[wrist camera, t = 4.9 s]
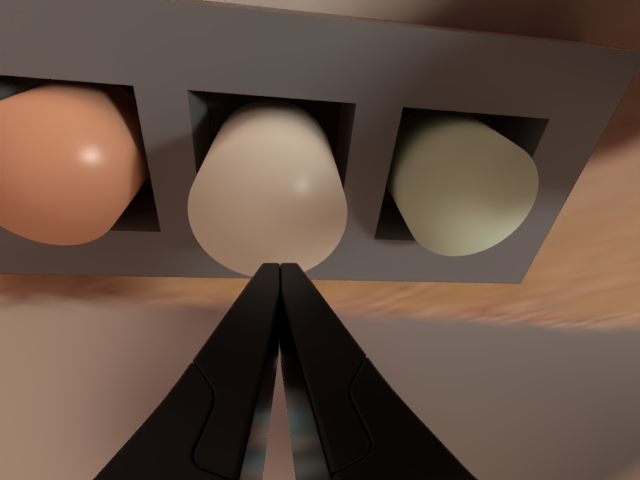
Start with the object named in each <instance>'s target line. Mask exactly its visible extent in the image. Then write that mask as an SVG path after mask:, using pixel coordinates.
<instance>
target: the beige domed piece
mask: <svg viewBox="0 0 640 480" xmlns="http://www.w3.org/2000/svg"><path fill="white" fill-rule="evenodd" d="M188 218H189V222H190V226H191V229H192V231H193V234H194V236H195V237H196V239H197V241H198V242H199V244H200V245H201V247H202V248H203V249H204V250H205V251H206V252H207V253H208V254H209V255H210V256H211V257H212V258H213V259H214V260H216V261H217V262H218V263H220V264H221V265H223V266H225V267H227V268H229V269H231V270H232V271H235V272H238V273H240V274H244V275H247V276H251V277H253V276H254V274H255V273H256V271H257V270H258V269H259V267H260V266H261V265H262V264H263V263H279V264H280V265H281V263H297V264H298V265H299V266H300V267H301V269H302V270H303V271H304V272H305V271H307V270H309V269H311V268H313V267H315V266H316V265H318V264H320V263H321V262H322V261H323V260H325V259H326V258H327V257H328V256H329V255H330V254H331V253H332V252H333V250H334V249H335V248H336V246H337V245H338V243H339V242H340V240H341V238H342V236H343V233H344V231H345V227H346V222H347V203H346V198H345V194H344V191H343V187H342V184H341V181H340V177H339V174H338V170H337V167H336V164H335V160H334V157H333V153H332V150H331V147H330V143H329V140H328V138H327V135H326V133H325V132H324V130H323V128H322V127H321V125H320V124H319V122H318V121H317V120H316V119H315V118H314V117H313V116H312V115H310V114H309V113H308V112H307V111H305V110H304V109H302V108H300V107H298V106H296V105H294V104H291V103H288V102H285V101H279V100H261V101H256V102H252V103H249V104H247V105H244V106H242V107H240V108H239V109H237V110H236V111H234V112H233V113H232V114H231V115H230V116H229V117H228V118H227V119H226V120H225V121H224V123H223V124H222V126H221V127H220V129H219V131H218V133H217V135H216V137H215V139H214V141H213V143H212V145H211V147H210V149H209V151H208V153H207V156H206V158H205V160H204V162H203V164H202V166H201V168H200V170H199V172H198V174H197V176H196V178H195V180H194V182H193V185H192V187H191V190H190V193H189V197H188Z"/></svg>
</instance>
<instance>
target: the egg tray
mask: <svg viewBox="0 0 640 480" xmlns="http://www.w3.org/2000/svg"><path fill="white" fill-rule="evenodd" d="M639 66H640V51H635V50H629V49H622V48H616V47H610V46H604V45H598V44H592V43H586V42H577V41H568V40H559V39H550V38H541V37H532V36H523V35H513V34H504V33H495V32H486V31H477V30H468V29H459V28H450V27H440V26H431V25H422V24H413V23H404V22H395V21H386V20H377V19H367V18H358V17H349V16H340V15H331V14H322V13H313V12H304V11H294V10H285V9H276V8H267V7H258V6H249V5H240V4H231V3H221V2H212V1H203V0H0V100H3V99H6V98H8V97H11V96H14V95H16V94H18V93H17V91H16V88H15V85H14V82H13V80H12V77H11V76H20V77H32V78H45V79H57V80H70V81H82V82H95V83H107V84H120V85H132V86H133V87H134V93H135V98H136V103H137V108H138V114H139V119H140V124H141V130H142V135H143V140H144V146H145V151H146V156H147V162H148V167H149V172H150V177H151V183H152V188H153V193H154V195H135V197H134V198H133V199H132V201H131V202H130V203H129V205H128V206H127V207H126V209H125V210H124V211H123V213H122V214H121V215H120V217H119V218H118V219H117V221H116V222H115V224H114V225H113V226H112V227H111V228H110V230H109V231H107V232H106V233H105V234H104V235H102V236H101V237H99V238H97V239H95V240H93V241H90V242H87V243H83V244H77V245H52V244H46V243H41V242H37V241H33V240H30V239H27V238H24V237H22V236H19V235H17V234H15V233H12V232H11V231H9V230H7V229H5V228H3V227H1V226H0V274H42V275H94V276H147V277H199V278H252V277H251V276H247V275H244V274H240V273H238V272H235V271H232V270H231V269H229V268H227V267H225V266H223V265H221V264H220V263H218V262H217V261H216V260H214V259H213V258H212V257H211V256H210V255H209V254H208V253H207V252H206V251H205V250H204V249H203V248H202V247H201V245H200V244H199V242H198V241H197V239H196V237H195V236H194V234H193V231H192V229H191V226H190V222H189V218H188V197H189V193H190V190H191V187H192V185H193V182H194V180H195V178H196V176H197V174H198V172H199V170H200V168H201V166H202V164H203V162H204V160H205V158H206V156H207V153H208V151H209V149H210V147H211V141H210V129H209V116H208V104H207V92H220V93H232V94H245V95H257V96H270V97H282V98H295V99H307V100H320V101H332V102H342V106H341V114H340V122H339V130H338V138H337V146H336V154H335V164H336V167H337V170H338V174H339V177H340V181H341V184H342V187H343V191H344V194H345V198H346V203H347V222H346V227H345V231H344V233H343V236H342V238H341V240H340V242H339V243H338V245H337V246H336V248H335V249H334V250H333V252H332V253H331V254H330V255H329V256H328V257H327V258H326V259H325V260H323V261H322V262H321V263H320V264H318V265H316V266H315V267H313V268H311V269H309V270H307V271H305V272H304V273H305V274H306V275H307V277H308V278H309V279H310V280H355V281H407V282H460V283H512V284H521V282H522V280H523V278H524V277H525V275H526V273H527V271H528V269H529V267H530V266H531V264H532V262H533V260H534V258H535V256H536V255H537V253H538V251H539V249H540V247H541V245H542V244H543V242H544V240H545V238H546V236H547V234H548V233H549V231H550V229H551V227H552V225H553V223H554V222H555V220H556V218H557V216H558V214H559V212H560V211H561V209H562V207H563V205H564V203H565V202H566V200H567V198H568V196H569V194H570V192H571V191H572V189H573V187H574V185H575V183H576V181H577V180H578V178H579V176H580V174H581V172H582V170H583V169H584V167H585V165H586V163H587V161H588V159H589V158H590V156H591V154H592V152H593V150H594V148H595V147H596V145H597V143H598V141H599V139H600V138H601V136H602V134H603V132H604V130H605V128H606V127H607V125H608V123H609V121H610V119H611V117H612V116H613V114H614V112H615V110H616V108H617V106H618V105H619V103H620V101H621V99H622V97H623V95H624V94H625V92H626V90H627V88H628V86H629V84H630V83H631V81H632V79H633V77H634V75H635V74H636V72H637V70H638V68H639ZM403 107H407V108H420V109H432V110H445V111H457V112H470V113H482V114H495V115H500V118H499V121H498V123H497V126H496V129H495V131H496V132H498V133H499V134H501V135H502V136H504V137H505V138H507V139H508V140H510V141H511V142H513V143H514V144H516V145H517V146H519V147H520V148H522V149H523V150H524V151H526V152H527V153H528V154H529V155H530V157H531V158H532V160H533V161H534V163H535V165H536V168H537V171H538V177H539V185H538V192H537V196H536V199H535V202H534V204H533V207H532V208H531V210H530V212H529V214H528V215H527V217H526V218H525V219H524V221H523V222H522V223H521V224H520V226H519V227H518V228H517V229H516V230H515V231H514V232H513V233H511V234H510V235H509V236H508V237H506V238H505V239H504V240H502V241H501V242H499V243H498V244H496V245H494V246H492V247H490V248H488V249H486V250H483V251H480V252H477V253H474V254H470V255H464V256H444V255H439V254H436V253H433V252H431V251H429V250H427V249H425V248H424V247H422V246H421V245H420V244H419V243H418V242H417V241H416V240H415V238H414V237H413V235H412V233H411V232H410V230H409V228H408V226H407V224H406V222H405V220H404V218H403V216H402V214H401V213H400V211H399V209H398V207H397V206H382V201H383V197H384V192H385V188H386V183H387V178H388V174H389V169H390V165H391V160H392V156H393V151H394V146H395V142H396V137H397V133H398V128H399V124H400V119H401V114H402V110H403Z"/></svg>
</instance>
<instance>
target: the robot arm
mask: <svg viewBox="0 0 640 480" xmlns="http://www.w3.org/2000/svg"><path fill="white" fill-rule="evenodd" d="M279 348H280V361H281V369H282V377H283V385H284V392H285V401H286V408H287V416H288V424H289V432H290V439H291V447H292V455H293V463H294V470H295V478H296V480H478V479H477V478H476V477H474V476H473V475H472V474H471V473H470V472H469V471H468V470H467V469H466V468H465V467H464V466H463V465H462V464H461V463H460V461H458V459H457V458H456V457H455V456H454V455H453V454H452V453H451V452H450V451H449V450H448V449H447V448H446V447H445V445H444V444H443V443H442V442H441V441H440V440H439V439H438V438H437V437H436V436H435V435H434V434H433V433H432V432H431V431H430V429H429V428H428V427H427V426H426V425H425V424H424V423H423V422H422V421H421V420H420V419H419V418H418V417H417V416H416V415H415V413H414V412H413V411H412V410H411V409H410V408H409V407H408V406H407V405H406V404H405V402H404V401H403V400H402V399H401V398H400V397H399V396H398V395H397V394H396V392H395V391H394V390H393V389H392V388H391V386H390V385H389V384H388V383H387V381H386V380H385V379H384V378H383V377H382V375H381V374H380V373H379V371H378V370H377V369H376V367H375V366H374V365H373V363H372V362H371V361H370V359H369V358H366V354H365V353H364V351H363V350H362V349H361V347H360V346H359V345H358V343H357V342H356V341H355V339H354V338H353V337H352V335H351V334H350V333H349V331H348V330H347V329H346V328H345V326H344V325H343V323H342V322H341V321H340V319H339V318H338V317H337V315H336V314H335V313H334V311H333V310H332V309H331V307H330V306H329V305H328V303H327V302H326V301H325V299H324V298H323V297H322V295H321V294H320V293H319V291H318V290H317V289H316V287H315V286H314V285H313V283H312V282H311V281H310V279H309V278H308V277H307V275H306V274H305V273H304V271H303V270H302V269H301V267H300V266H299V265H298V264H297V263H281V265H280V264H279V263H263V264H262V265H261V266H260V267H259V269H258V270H257V271H256V273H255V274H254V276H253V277H252V278H251V280H250V281H249V283H248V284H247V285H246V287H245V288H244V290H243V291H242V292H241V294H240V295H239V297H238V298H237V299H236V301H235V302H234V304H233V305H232V306H231V308H230V309H229V311H228V312H227V313H226V315H225V316H224V318H223V319H222V320H221V322H220V323H219V325H218V326H217V327H216V329H215V330H214V332H213V333H212V334H211V336H210V337H209V339H208V340H207V341H206V343H205V344H204V346H203V347H202V349H201V350H200V351H199V352H198V354H197V355H196V357H195V358H194V359H193V363H191V364H190V365H189V366H188V368H187V369H186V370H185V372H184V373H183V375H182V376H181V377H180V379H179V380H178V381H177V383H176V384H175V385H174V387H173V388H172V389H171V391H170V392H169V393H168V395H167V396H166V397H165V398H164V400H163V401H162V402H161V403H160V405H159V406H158V407H157V408H156V409H155V410H154V412H153V413H152V414H151V415H150V416H149V417H148V418H147V420H146V421H145V422H144V423H143V424H142V426H141V427H140V428H139V429H138V430H137V431H136V432H135V433H134V434H133V436H132V437H131V438H130V439H129V440H128V441H127V442H126V443H125V444H124V446H123V447H122V448H121V449H120V450H119V451H118V452H117V454H116V455H115V456H114V457H113V458H112V459H111V460H110V461H109V462H108V463H107V465H106V466H105V467H104V468H103V469H102V470H101V471H100V472H99V474H98V475H97V476H96V477H95V478H94V479H93V480H262V479H263V471H264V463H265V455H266V448H267V441H268V433H269V425H270V418H271V410H272V403H273V395H274V387H275V379H276V372H277V364H278V355H279Z"/></svg>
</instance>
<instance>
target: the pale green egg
mask: <svg viewBox="0 0 640 480" xmlns="http://www.w3.org/2000/svg"><path fill="white" fill-rule="evenodd" d="M538 185H539V177H538V171H537V168H536V165H535V163H534V161H533V160H532V158H531V157H530V155H529V154H528V153H527V152H526V151H524V150H523V149H522V148H520V147H519V146H517V145H516V144H514V143H513V142H511V141H510V140H508V139H507V138H505V137H504V136H502V135H501V134H499V133H498V132H496V131H495V130H493V129H491V128H490V127H488V126H487V125H485V124H484V123H482V122H481V121H479V120H478V119H476V118H475V117H473V116H472V115H470V114H469V113H467V112H457V111H445V110H432V109H418V110H416V111H414V112H412V113H410V114H409V115H407V116H406V117H404V118H403V119H402V120H401V121H400V124H399V128H398V133H397V137H396V142H395V146H394V151H393V156H392V160H391V165H390V169H389V174H388V178H387V183H386V186H387V188H388V190H389V192H390V194H391V195H392V197H393V199H394V201H395V203H396V205H397V207H398V209H399V211H400V213H401V214H402V216H403V218H404V220H405V222H406V224H407V226H408V228H409V230H410V232H411V233H412V235H413V237H414V238H415V240H416V241H417V242H418V243H419V244H420V245H421V246H422V247H424V248H425V249H427V250H429V251H431V252H433V253H436V254H439V255H444V256H464V255H470V254H474V253H477V252H480V251H483V250H486V249H488V248H490V247H492V246H494V245H496V244H498V243H499V242H501V241H502V240H504V239H505V238H506V237H508V236H509V235H510V234H511V233H513V232H514V231H515V230H516V229H517V228H518V227H519V226H520V224H521V223H522V222H523V221H524V219H525V218H526V217H527V215H528V214H529V212H530V210H531V208H532V207H533V204H534V202H535V199H536V196H537V192H538Z"/></svg>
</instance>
